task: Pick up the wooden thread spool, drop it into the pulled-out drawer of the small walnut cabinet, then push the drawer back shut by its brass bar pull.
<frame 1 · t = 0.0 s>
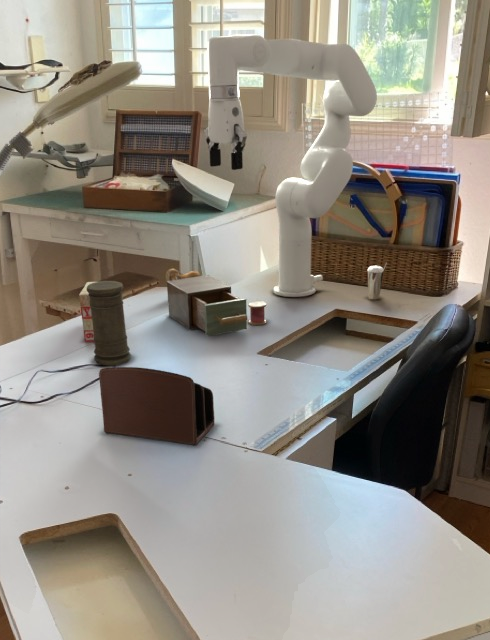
hand: (226, 167, 214), 37 cm above the table, tool pointing down, fingers open, 9 cm apart
milkshake: (375, 298, 237), on the table
cabinet: (200, 319, 224), on the table
letter holder: (159, 430, 161), on the table
drawer: (219, 313, 212), point 5 cm above the table, slide at 9.0 cm
lion figurine: (186, 297, 245), on the table
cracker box: (102, 329, 220), on the table
spool: (257, 322, 220), on the table
container: (113, 360, 198), on the table
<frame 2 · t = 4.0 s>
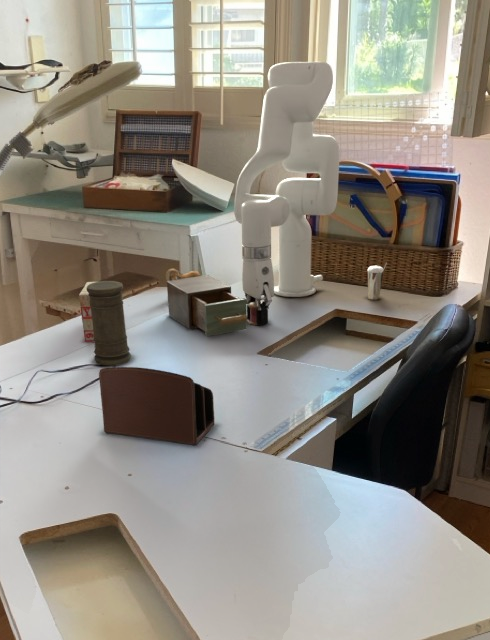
hand: (257, 321, 220), 0 cm above the table, tool pointing down, fingers closed on spool, 4 cm apart
spool: (257, 322, 220), on the table, touching gripper
everything else where it was.
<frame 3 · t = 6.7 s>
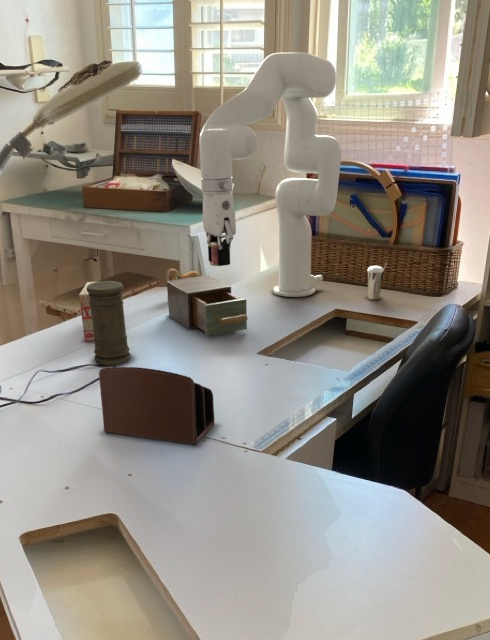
hand: (219, 262, 207), 17 cm above the table, tool pointing down, fingers closed on spool, 4 cm apart
spool: (219, 263, 207), point 17 cm above the table, touching gripper
everything else where it was.
when the fingers open (8 cm above the table, at t = 9.2 s): spool drops 6 cm, resting on drawer.
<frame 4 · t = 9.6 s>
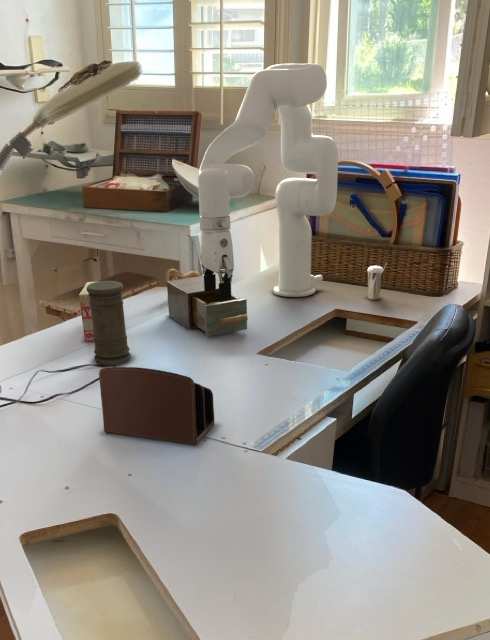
hand: (217, 294, 210), 10 cm above the table, tool pointing down, fingers open, 8 cm apart
drawer: (219, 313, 212), point 5 cm above the table, slide at 9.1 cm, touching spool
spool: (218, 323, 214), point 2 cm above the table, touching drawer
everything else where it was.
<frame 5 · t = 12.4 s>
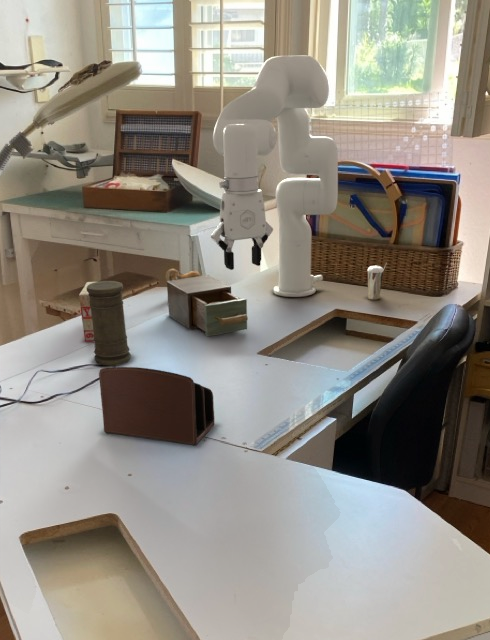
hand: (243, 265, 193), 20 cm above the table, tool pointing down, fingers open, 6 cm apart
nothing on the table moved.
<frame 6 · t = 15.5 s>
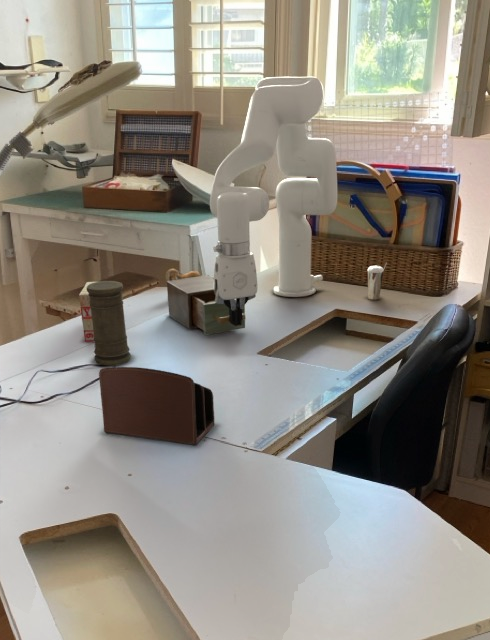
hand: (236, 324, 204), 4 cm above the table, tool pointing down, fingers closed
drawer: (217, 312, 213), point 5 cm above the table, slide at 8.0 cm, touching gripper, spool
spool: (216, 321, 215), point 2 cm above the table, touching drawer
everything else where it was.
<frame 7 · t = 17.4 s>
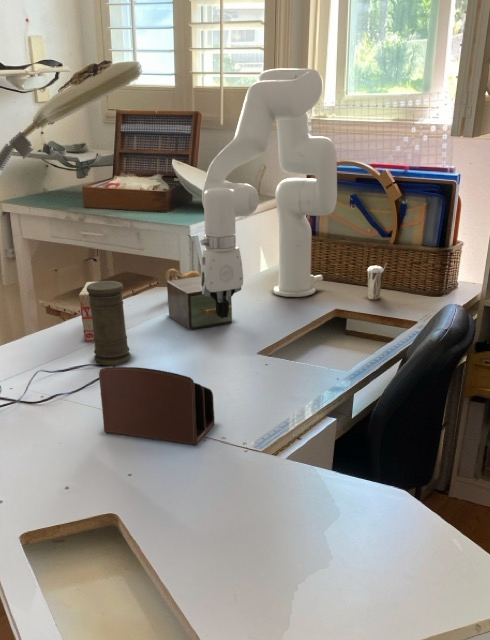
hand: (222, 316, 211), 5 cm above the table, tool pointing down, fingers closed
drawer: (205, 305, 219), point 5 cm above the table, slide at 0.0 cm, touching cabinet, gripper, spool
spool: (204, 314, 221), point 2 cm above the table, touching drawer
everything else where it was.
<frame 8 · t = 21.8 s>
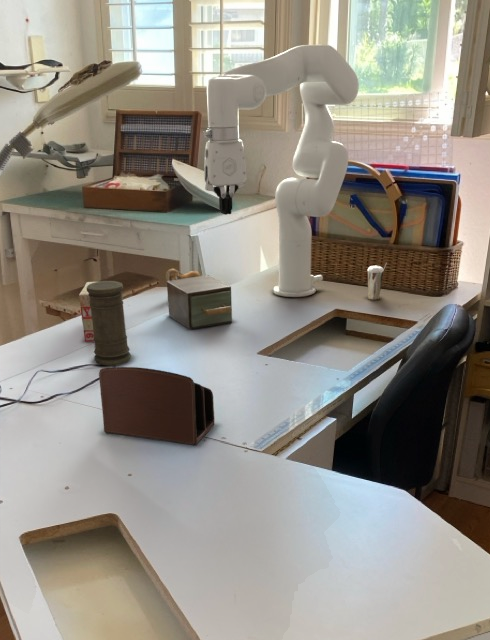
hand: (226, 213, 211), 27 cm above the table, tool pointing down, fingers closed
drawer: (205, 305, 219), point 5 cm above the table, slide at 0.0 cm, touching cabinet, spool
everything else where it was.
at the end: spool inside the target area in the cabinet (2.8 cm from its centre), point 2.0 cm above the cabinet's base; drawer slide at 0.0 cm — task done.
